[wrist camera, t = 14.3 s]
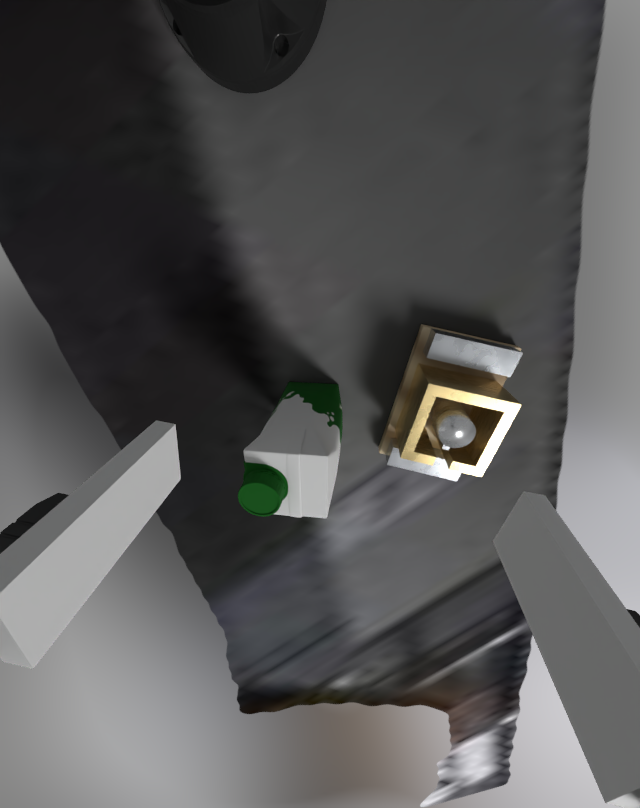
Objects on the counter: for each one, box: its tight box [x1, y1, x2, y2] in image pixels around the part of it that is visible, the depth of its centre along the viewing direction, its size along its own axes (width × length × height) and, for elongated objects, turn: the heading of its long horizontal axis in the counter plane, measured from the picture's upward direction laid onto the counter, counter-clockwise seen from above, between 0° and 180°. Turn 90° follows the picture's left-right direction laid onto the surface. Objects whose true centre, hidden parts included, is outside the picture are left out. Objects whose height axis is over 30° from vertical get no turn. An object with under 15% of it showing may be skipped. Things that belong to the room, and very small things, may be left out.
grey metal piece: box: [386, 328, 523, 481], centre depth 38 cm, size 19×10×7 cm, turn 169°
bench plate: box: [379, 324, 521, 454], centre depth 42 cm, size 19×12×2 cm, turn 169°
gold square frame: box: [395, 363, 522, 477], centre depth 38 cm, size 10×10×7 cm
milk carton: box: [238, 382, 342, 518], centre depth 36 cm, size 9×9×20 cm
